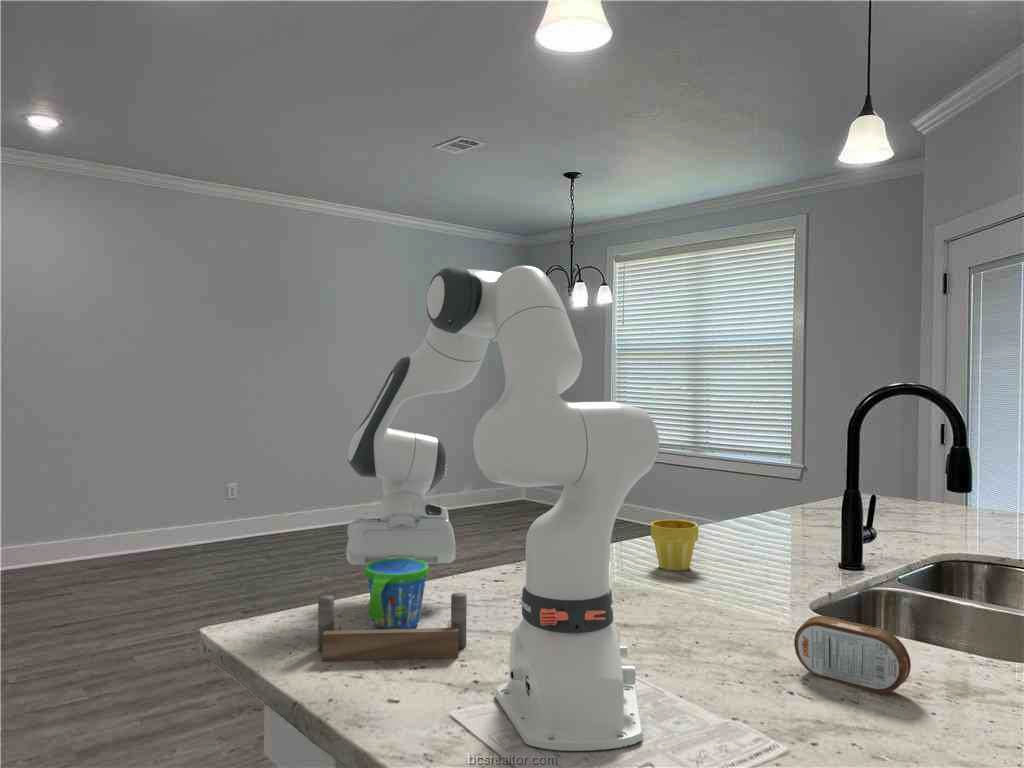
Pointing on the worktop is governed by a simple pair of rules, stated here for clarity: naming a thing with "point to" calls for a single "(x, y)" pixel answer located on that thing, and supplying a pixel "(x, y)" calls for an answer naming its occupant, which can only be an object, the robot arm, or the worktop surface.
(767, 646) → the worktop surface
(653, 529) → the plant pot
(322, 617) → the cradle
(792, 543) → the worktop surface
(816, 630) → the tin
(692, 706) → the worktop surface
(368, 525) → the robot arm
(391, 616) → the snack cup
